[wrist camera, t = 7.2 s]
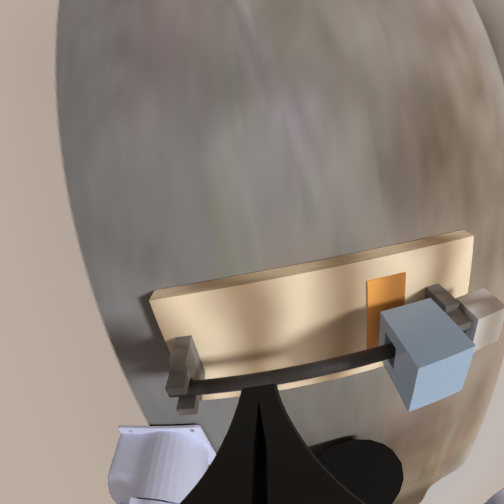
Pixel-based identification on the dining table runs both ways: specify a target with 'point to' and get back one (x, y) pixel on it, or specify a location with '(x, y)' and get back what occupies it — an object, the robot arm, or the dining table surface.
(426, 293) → the cord board
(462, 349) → the light blue block
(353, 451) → the black cylinder
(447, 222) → the dining table surface
